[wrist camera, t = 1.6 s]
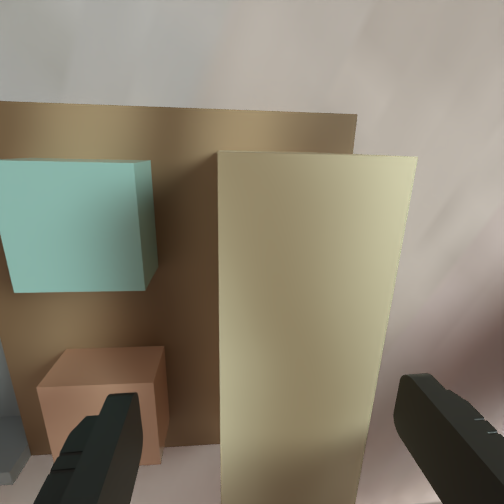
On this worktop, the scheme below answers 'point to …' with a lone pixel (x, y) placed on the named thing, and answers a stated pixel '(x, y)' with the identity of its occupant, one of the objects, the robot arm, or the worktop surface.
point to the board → (168, 246)
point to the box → (10, 429)
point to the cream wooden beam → (303, 316)
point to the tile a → (78, 224)
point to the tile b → (106, 392)
